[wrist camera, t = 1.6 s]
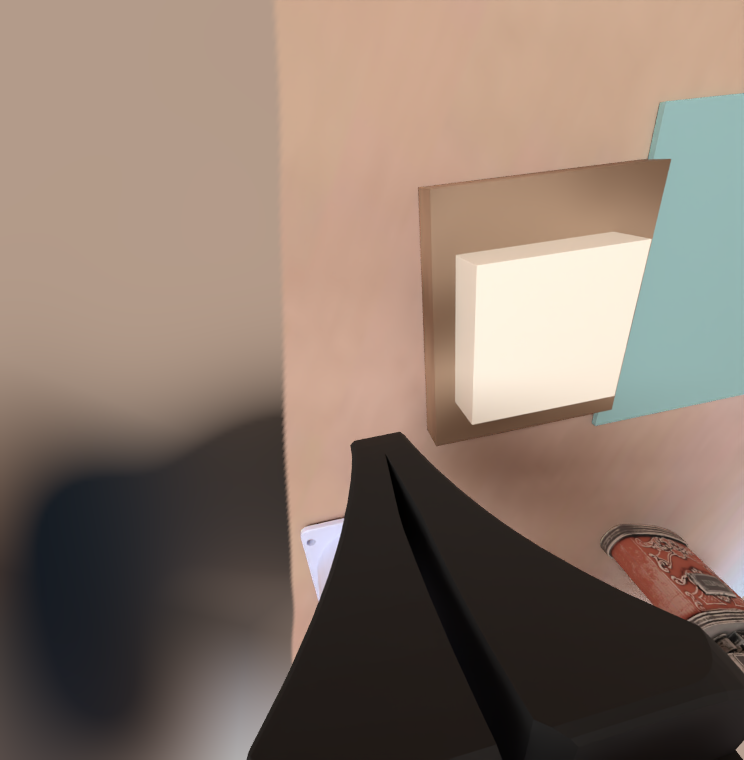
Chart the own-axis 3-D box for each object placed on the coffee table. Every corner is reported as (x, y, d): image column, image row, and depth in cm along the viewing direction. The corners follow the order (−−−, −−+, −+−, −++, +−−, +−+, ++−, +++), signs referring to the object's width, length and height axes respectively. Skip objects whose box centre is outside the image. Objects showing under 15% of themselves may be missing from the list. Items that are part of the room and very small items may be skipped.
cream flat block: (585, 376, 20) (614, 395, 18) (455, 401, 19) (471, 424, 17) (613, 231, 17) (651, 238, 15) (455, 255, 16) (476, 265, 14)
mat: (748, 390, 25) (753, 392, 25) (591, 423, 24) (595, 425, 24) (882, 78, 17) (891, 77, 17) (660, 102, 16) (666, 101, 16)
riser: (593, 396, 23) (611, 409, 21) (427, 429, 22) (436, 446, 20) (641, 159, 17) (671, 158, 16) (418, 187, 16) (430, 188, 14)
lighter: (687, 532, 32) (839, 668, 23) (660, 560, 33) (794, 700, 24) (617, 518, 29) (759, 667, 20) (591, 550, 30) (713, 703, 22)
